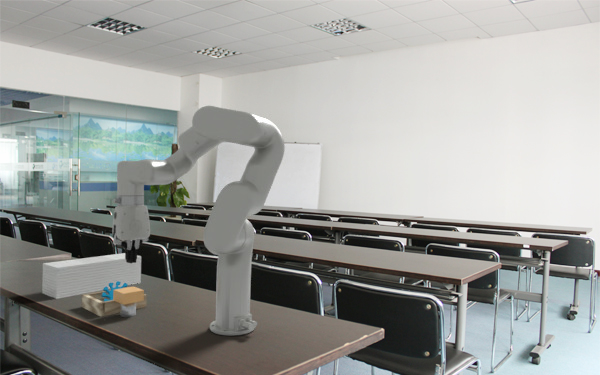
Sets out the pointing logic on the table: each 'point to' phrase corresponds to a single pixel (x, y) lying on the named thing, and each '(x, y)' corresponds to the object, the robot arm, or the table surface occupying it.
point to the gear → (112, 290)
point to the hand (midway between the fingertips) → (131, 262)
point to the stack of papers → (88, 275)
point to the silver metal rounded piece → (128, 310)
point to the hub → (128, 295)
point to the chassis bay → (105, 304)
